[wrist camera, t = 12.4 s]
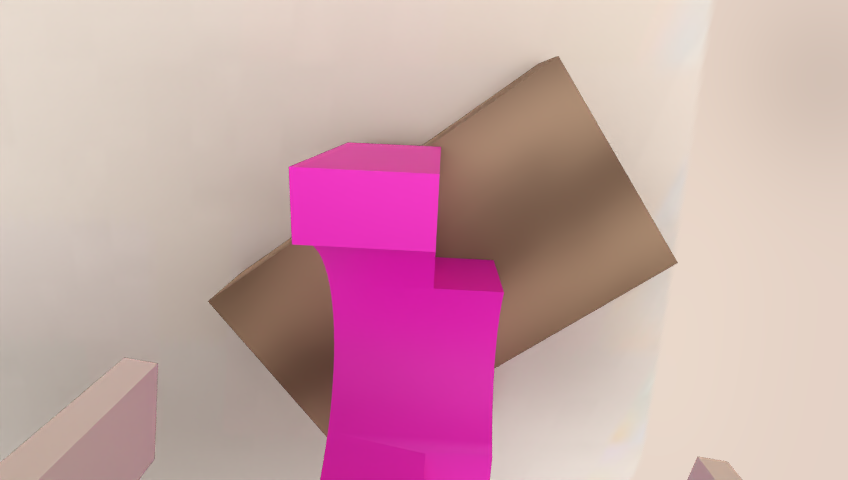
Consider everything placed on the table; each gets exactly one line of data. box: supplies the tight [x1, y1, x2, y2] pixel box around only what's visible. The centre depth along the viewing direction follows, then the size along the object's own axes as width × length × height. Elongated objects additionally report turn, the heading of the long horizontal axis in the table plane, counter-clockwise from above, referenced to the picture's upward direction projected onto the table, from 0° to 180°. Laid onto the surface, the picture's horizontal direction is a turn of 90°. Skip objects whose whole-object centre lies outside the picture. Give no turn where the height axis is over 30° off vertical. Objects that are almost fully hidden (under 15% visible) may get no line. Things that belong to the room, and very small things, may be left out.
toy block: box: [289, 143, 504, 480], centre depth 17 cm, size 15×6×8 cm, turn 178°
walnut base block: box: [208, 56, 677, 437], centre depth 22 cm, size 10×18×4 cm, turn 125°
